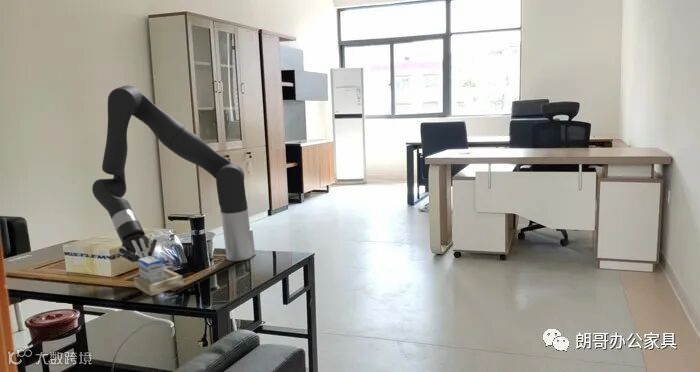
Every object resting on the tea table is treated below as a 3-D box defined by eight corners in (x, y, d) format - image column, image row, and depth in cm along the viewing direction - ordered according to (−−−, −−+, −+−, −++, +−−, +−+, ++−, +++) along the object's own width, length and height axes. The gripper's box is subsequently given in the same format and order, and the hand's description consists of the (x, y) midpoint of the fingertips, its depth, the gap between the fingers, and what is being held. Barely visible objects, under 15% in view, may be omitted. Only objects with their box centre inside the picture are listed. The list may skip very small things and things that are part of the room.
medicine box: (140, 285, 167) (136, 259, 166) (154, 280, 170) (150, 255, 169) (152, 290, 162) (147, 263, 160) (165, 286, 165) (161, 259, 163)
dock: (166, 276, 173) (164, 268, 173) (183, 284, 165) (182, 275, 164) (134, 286, 166) (133, 277, 166) (151, 295, 158) (149, 286, 157)
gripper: (109, 224, 169) (129, 269, 162) (149, 215, 177) (170, 257, 171) (105, 237, 173) (125, 281, 167) (145, 228, 182) (165, 269, 176)
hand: (148, 269), depth 169 cm, fingers closed
